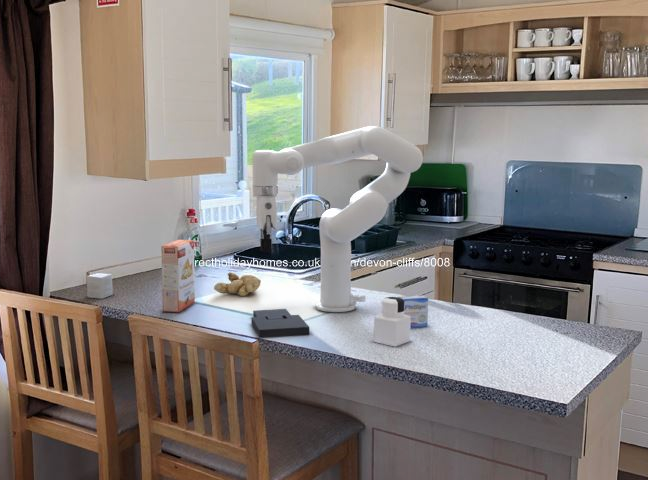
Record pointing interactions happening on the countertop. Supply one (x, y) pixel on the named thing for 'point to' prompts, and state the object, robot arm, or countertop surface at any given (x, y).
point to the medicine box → (416, 310)
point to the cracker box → (178, 275)
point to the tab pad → (271, 313)
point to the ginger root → (238, 285)
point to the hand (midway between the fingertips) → (266, 251)
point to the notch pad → (280, 326)
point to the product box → (99, 285)
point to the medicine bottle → (392, 323)
